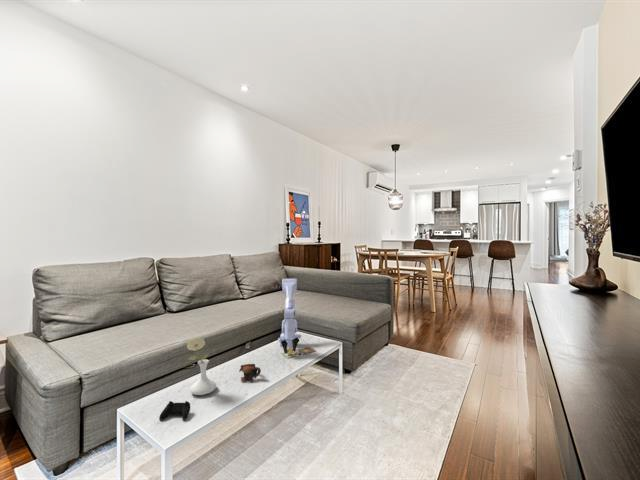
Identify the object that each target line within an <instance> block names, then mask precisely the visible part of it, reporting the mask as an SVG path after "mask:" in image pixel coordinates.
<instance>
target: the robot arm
mask: <svg viewBox="0 0 640 480" xmlns="http://www.w3.org/2000/svg"><path fill="white" fill-rule="evenodd" d="M297 287H298V279H297V277H296V278H282V280H281V288H282V292H283V293H285V297H286V299H285V300H284V313H283V314H284V315H283V316H284V317H283V318H284V319H283V320H282V321H281V333H280V337H278V338H277V342H278V343H279V347H280V348H283V353H287V349H288V348H292V349H293V351H296V347H297V346H298V344H299V342H300V339H301V338H302V334H300V333H298V321H297V319H296V306H295V299H294V298H293V297H294V293H295V292H297Z"/></svg>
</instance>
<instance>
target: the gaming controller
mask: <svg viewBox="0 0 640 480" xmlns="http://www.w3.org/2000/svg"><path fill="white" fill-rule="evenodd" d="M190 411H191V403H190V402H189V401H187V400H186V401H184V402H173V401H172V400H169V401H168V404H166V406H165V407H164V409H163V410H162V411H161V412H160V414H159V421H165V419H167V417H168V416H170V415H171V416H174V415H176V416H177V415H180V416H182V421H186V420H187V419H188V417H189V415H190V413H191V412H190Z"/></svg>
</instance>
